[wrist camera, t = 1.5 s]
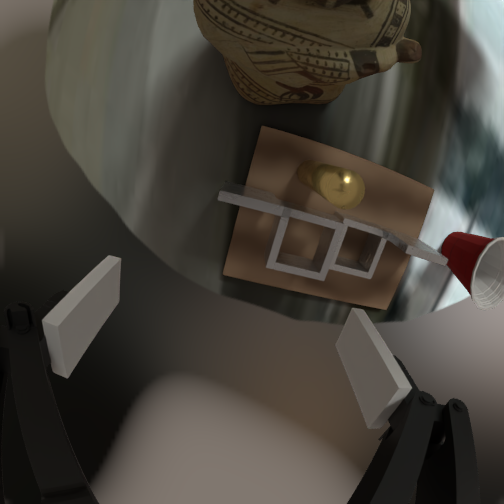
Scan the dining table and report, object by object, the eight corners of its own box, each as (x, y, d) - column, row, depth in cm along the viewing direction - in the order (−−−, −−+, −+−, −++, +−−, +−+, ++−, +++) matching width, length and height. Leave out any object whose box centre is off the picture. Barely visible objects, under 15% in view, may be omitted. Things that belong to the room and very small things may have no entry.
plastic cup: (474, 209, 38) (522, 230, 26) (473, 266, 41) (514, 296, 30) (427, 223, 38) (476, 250, 27) (429, 284, 42) (468, 321, 31)
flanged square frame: (225, 180, 35) (219, 190, 27) (326, 208, 36) (345, 224, 29) (213, 231, 37) (205, 252, 30) (310, 255, 38) (324, 281, 31)
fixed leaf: (335, 210, 36) (357, 228, 29) (417, 238, 38) (448, 259, 30) (319, 257, 39) (335, 284, 31) (401, 278, 40) (427, 304, 32)
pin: (301, 156, 34) (334, 164, 21) (325, 164, 34) (369, 177, 21) (294, 181, 35) (321, 203, 22) (318, 188, 35) (357, 214, 22)
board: (261, 126, 34) (262, 125, 33) (430, 188, 36) (434, 189, 35) (223, 270, 40) (222, 274, 39) (383, 306, 43) (386, 309, 42)
